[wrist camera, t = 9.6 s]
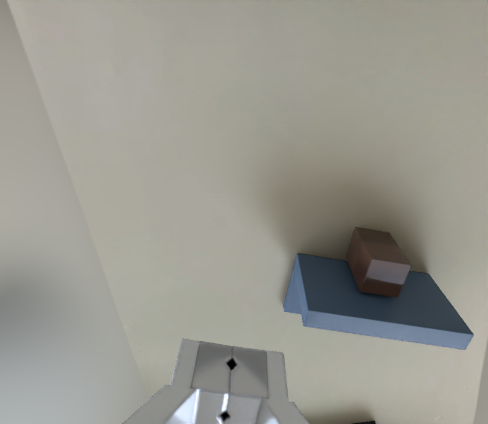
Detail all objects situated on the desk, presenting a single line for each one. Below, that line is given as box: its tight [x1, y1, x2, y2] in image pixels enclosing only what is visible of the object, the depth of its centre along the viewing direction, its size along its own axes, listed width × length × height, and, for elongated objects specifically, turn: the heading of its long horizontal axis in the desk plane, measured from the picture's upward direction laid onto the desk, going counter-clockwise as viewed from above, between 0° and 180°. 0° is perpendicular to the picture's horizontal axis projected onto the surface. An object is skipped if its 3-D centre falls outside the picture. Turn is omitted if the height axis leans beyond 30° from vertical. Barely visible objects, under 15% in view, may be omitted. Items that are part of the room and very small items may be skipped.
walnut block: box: [346, 227, 411, 297], centre depth 39 cm, size 7×4×7 cm
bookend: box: [283, 254, 474, 350], centre depth 41 cm, size 8×16×10 cm, turn 81°
